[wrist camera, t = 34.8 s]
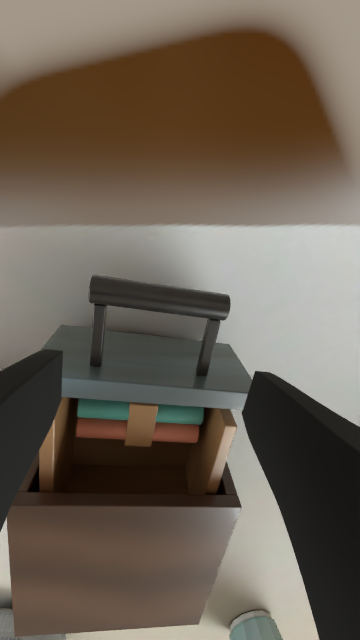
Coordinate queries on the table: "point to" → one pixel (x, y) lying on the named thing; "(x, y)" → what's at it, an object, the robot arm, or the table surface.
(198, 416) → the teal and pink cylinders
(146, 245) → the table surface
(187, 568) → the cabinet
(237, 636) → the disposable coffee cup
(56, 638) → the flying saucer
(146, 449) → the drawer
